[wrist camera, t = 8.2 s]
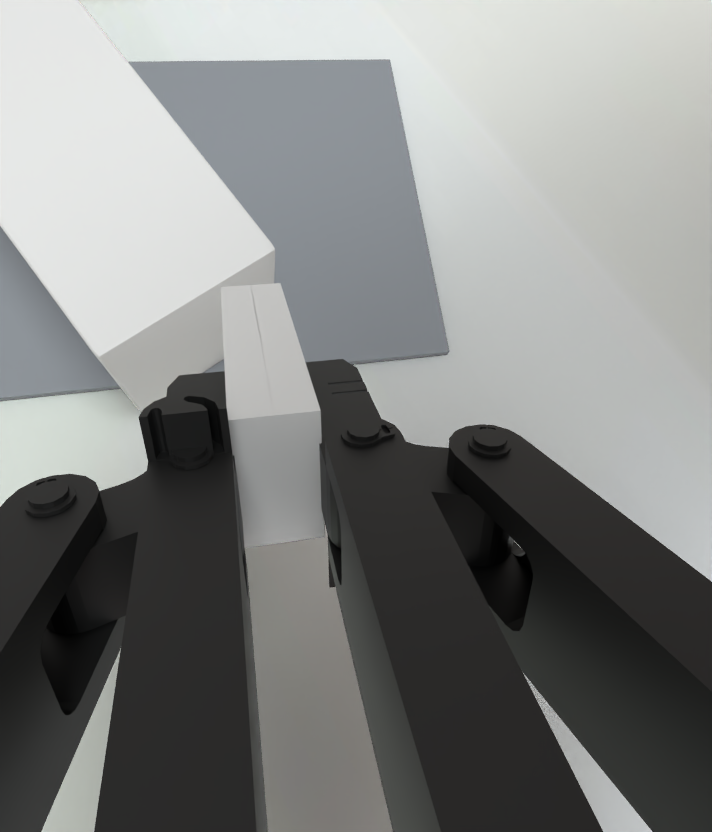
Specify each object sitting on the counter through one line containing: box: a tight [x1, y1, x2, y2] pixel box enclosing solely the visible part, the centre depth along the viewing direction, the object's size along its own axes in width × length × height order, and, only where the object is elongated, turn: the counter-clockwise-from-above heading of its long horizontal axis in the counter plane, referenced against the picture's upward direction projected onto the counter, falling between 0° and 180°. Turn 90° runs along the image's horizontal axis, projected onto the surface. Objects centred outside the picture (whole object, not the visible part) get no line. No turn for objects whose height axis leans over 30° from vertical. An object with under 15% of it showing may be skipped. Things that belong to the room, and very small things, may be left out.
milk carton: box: [0, 0, 275, 411], centre depth 24 cm, size 7×7×19 cm
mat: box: [0, 60, 449, 401], centre depth 29 cm, size 22×17×1 cm
